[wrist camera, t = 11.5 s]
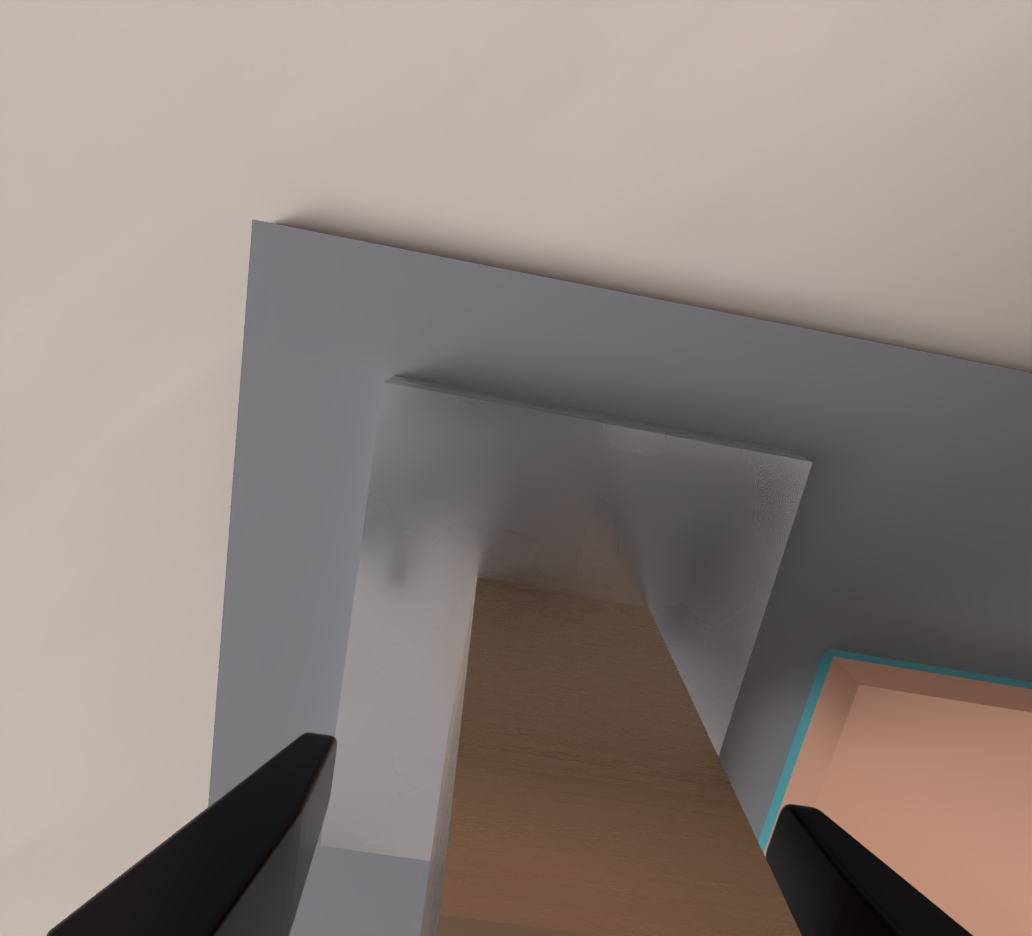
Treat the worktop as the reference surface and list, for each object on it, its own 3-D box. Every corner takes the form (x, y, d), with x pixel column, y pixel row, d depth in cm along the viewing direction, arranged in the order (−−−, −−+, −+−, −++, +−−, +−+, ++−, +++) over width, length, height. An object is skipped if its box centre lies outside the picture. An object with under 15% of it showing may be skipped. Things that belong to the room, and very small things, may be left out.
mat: (1427, 452, 12) (1474, 459, 11) (1037, 1135, 17) (1056, 1165, 16) (266, 224, 11) (252, 219, 10) (201, 1035, 15) (188, 1065, 15)
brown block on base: (394, 375, 11) (197, 498, 4) (786, 448, 11) (1223, 674, 4) (334, 804, 13) (141, 1361, 6) (662, 852, 13) (822, 1421, 7)
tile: (1023, 965, 14) (1157, 702, 13) (1069, 1024, 13) (1224, 743, 11) (728, 925, 14) (825, 648, 12) (749, 982, 13) (859, 684, 11)
